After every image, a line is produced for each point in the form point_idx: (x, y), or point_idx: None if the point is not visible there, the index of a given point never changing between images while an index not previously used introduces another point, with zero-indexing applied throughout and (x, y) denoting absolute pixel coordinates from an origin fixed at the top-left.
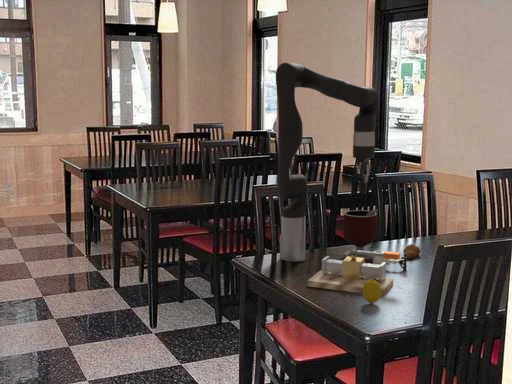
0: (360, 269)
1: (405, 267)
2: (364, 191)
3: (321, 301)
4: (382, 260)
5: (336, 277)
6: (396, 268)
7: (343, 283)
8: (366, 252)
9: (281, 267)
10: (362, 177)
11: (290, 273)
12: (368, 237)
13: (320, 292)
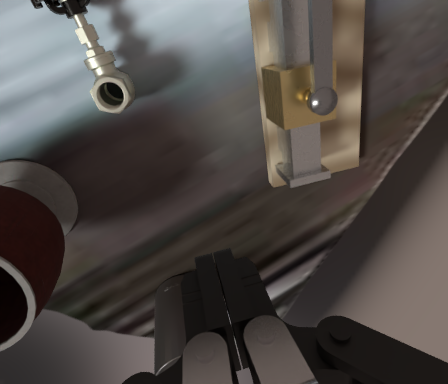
0: None
1: None
2: (233, 260)
3: (434, 80)
4: (121, 72)
5: None
6: (71, 36)
7: (350, 82)
8: (332, 46)
9: None
10: (429, 363)
11: (283, 238)
12: (19, 194)
13: (379, 115)
